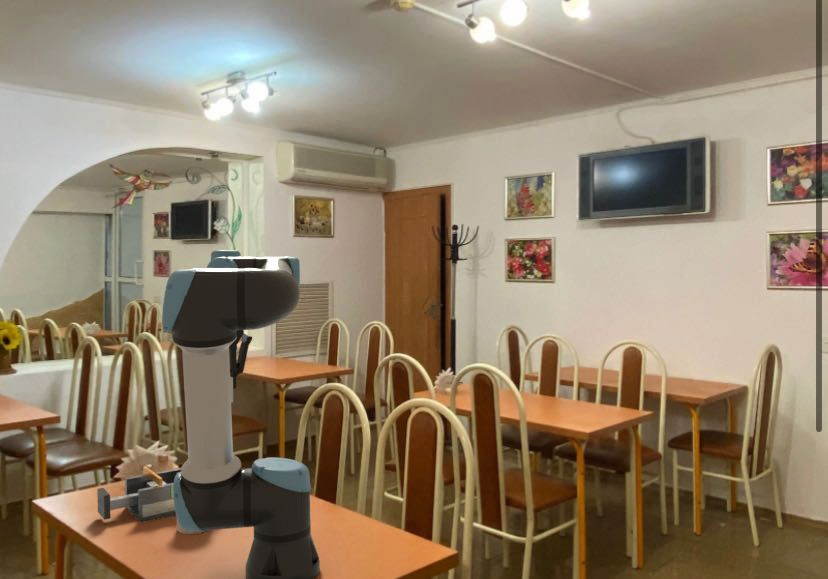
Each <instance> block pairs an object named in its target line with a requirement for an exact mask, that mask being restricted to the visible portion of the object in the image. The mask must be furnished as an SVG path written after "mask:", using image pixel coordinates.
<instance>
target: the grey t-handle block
mask: <svg viewBox="0 0 828 579" xmlns="http://www.w3.org/2000/svg"><path fill="white" fill-rule="evenodd" d="M142 469H143V470H142V471H143V473H142V474H143V475H146V476H148V477H149V478H150V479H151V480H153V481H151V482H146V488H149V487H154V486H162V485H164V484H166V483H165V482H164V481H162V478H161V477H160V476H158V475H157V474H156V472H154V471H153V470H152V469H150V468H149V467H147V466H146V465H145V466H143V467H142ZM96 495H97V496H96V497H97V513H98V514H99V516H101V518H102V519H103V520H105V521H106V520H109V519H111V511H113V510H119V509H125V508H126V507H129V506H134V505H138V493H133V494H128V495H125V494H124V495H123V494H122V495H119V496H114V497H111V494H110V493H109V492H108V491H107V490H106V489H105V488H104V487H101V488H97V493H96Z"/></svg>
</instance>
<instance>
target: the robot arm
mask: <svg viewBox="0 0 828 579" xmlns="http://www.w3.org/2000/svg"><path fill="white" fill-rule="evenodd" d="M300 268H301V267H300V259H299V258H298V257H294V256H286V255H285V256H263V257H261V256H259V257H257V256H242V254H241V252H240V251H239V250H234V249H233V250H231V249H228V250H226V249H223V250H222V249H220V250H219V249H218V250H212V252H211V254H210V261H209V262H208V264H207V266H206V268H197V267H194V268H190V269H189V268H188V269H177V270H174V271H173V272H171V273H170V275H169V277H168V279H167V282H166V285H165V286H166V287H165V290H164V297H163V304H162V313H161V315H162V316H161V323H162V324H161V325H162V330H163V331H164V332H165V333H167V334H172V342H173V344H174V345H175V347H178V348H179V349H181V351H182V353H181V354H182V355H181V356H182V368H183V370H182V371H183V389H184V391H183V392H184V402H185V403H184V404H185V405H184V406H185V407H184V408H185V422H186V423H185V424H186V440H187V457H188V458H187V460H186V461H185V462H184V463H183V464H182V466H181V467H180V468H181V472H180V473H178V474H177V475H176V476H175V479H174V485H173V493H174V507H175V512H176V515H175V516H176V521H177V520H178V522H179V524H180V526H181V527H182V528H183V529H185V530H186V531H203V533H205V531H206V532H208V531H214V530H215V531H216V530H225V529H226V530H227V529H238V528H251V527H252V528H253V540H252V543H251V546H250V550H249V553H248V556H247V560H246V563H245V579H315V578H316V577H317V576H318V575H319V573H320V571H321V568H320V567H321V566H320V565H321V564H320V563H321V561H320V557H319V554H318V551H317V547H316V545H315V542H314V539H313V536H312V534H311V533H312V532H311V530H312V528H311V497H310V496H311V492H310V491H311V490H312V485H311V478H310V471H309V468H308V467H307V465H305V464H304V463H302V462H300V461H299V460H295V459H291V458H285V457H265V458H259V459H256V460H255V461H253V463H252V465H251V467H249V468H248V467H247V468H245V467H244V468H242V462H241V459H240V458H239V457H238V456H237V455H235V454H234V446H233V442H234V441H233V420H232V419H233V418H232V403H234V389H237V377H238V376H239V375H240V374H243V373H244V371H245V366H246V361H247V360H246V359H247V355H248V351H249V348H250V347H249V346H250V344H251V342H252V341H253V337H252V336H251V335H248V334H246V333H245V331H249V330H250V331H252V330H253V331H254V330H258V329H263V328H267V327H270V326H272V325H274V324H275V325H276V324H277V323H278V322H280V321H282V320H284V319H285V318H287V317H288V316H289V315H290V314H291V313H293V311H295V309H296V308H297V305H298V304H299V301H300V298H301V293H300V292H301V291H300V283H301V282H300V281H301V279H300V278H301V272H300V271H301V269H300ZM240 341H241V343H240V347H239V351H238V354H237V350H238V344H239V342H240ZM237 355H238V356H237ZM207 530H208V531H207Z"/></svg>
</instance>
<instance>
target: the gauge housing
mask: <svg viewBox="0 0 828 579" xmlns="http://www.w3.org/2000/svg"><path fill="white" fill-rule="evenodd" d="M180 472H181V467H180V468H179V467H178V468H175V469H173V468H172V469H168V470H162V471H157V472H155V473H156V474H157V475H158V476H160V477H161V478H162V481H164V482H165V483H166V484H164V485H162V486H154V487H149V488H146V482H151V481H153V480H151V479H150V478H149V477H148V476H146V475H145V474H140V475H136V476H135V475H134V476H130V477H125V478H124V495H128V494H133V493H138V505H134V506H129V507H125V509H126V508H127V509H128V510H129V511H130V512H131V513H132V514H133V515H134V516H135V517H136V518H137V519H138V520H139V521H140V522H141V523H145V522H144V521H146V522H150V521H154V520H153V519H155V520H159V519H163V518H162V517H164V518H168V517H173V516H176V512H175V507H174V493H173V485H174V479H175V476H176V475H177V473H180ZM127 509H126V510H127ZM128 510H127V511H128ZM129 511H128V512H129ZM130 512H129V513H130ZM131 513H130V514H131ZM132 514H131V515H132ZM133 515H132V516H133ZM172 515H173V516H172ZM134 516H133V517H134ZM135 517H134V518H135ZM136 518H135V519H136ZM158 518H159V519H158ZM137 519H136V520H137ZM149 520H150V521H149ZM139 521H138V522H139ZM140 522H139V523H140Z"/></svg>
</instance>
